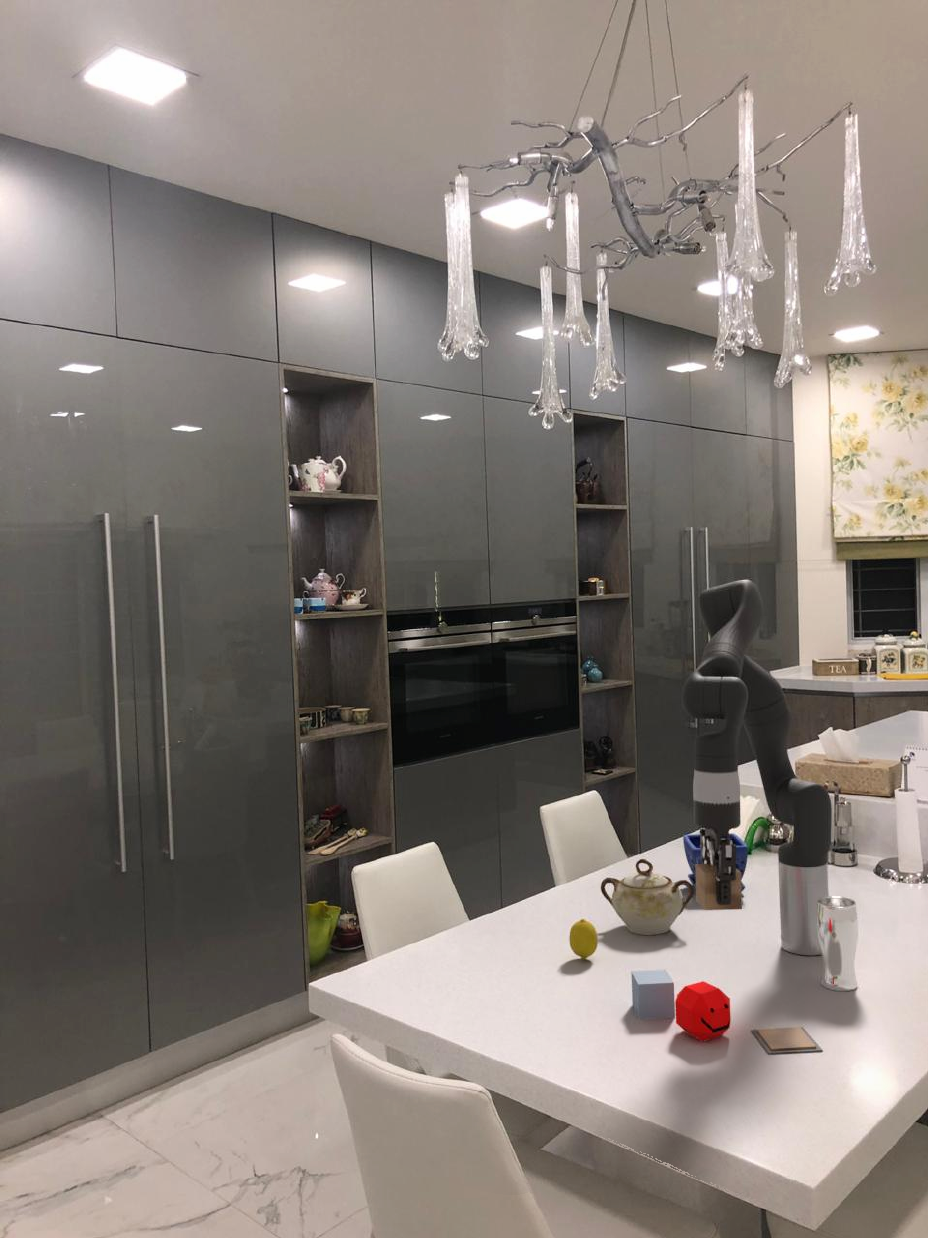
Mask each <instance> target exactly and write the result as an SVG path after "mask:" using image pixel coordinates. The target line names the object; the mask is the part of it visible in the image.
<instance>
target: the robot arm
mask: <svg viewBox="0 0 928 1238" xmlns="http://www.w3.org/2000/svg"><path fill="white" fill-rule="evenodd" d="M698 607H699V611H700V614H701V618H702V620H703V623H704V625H705V628H706V631H707V633H708V635H709V637H710V639H709V641H708V642H707V644H706V645H705V646H704V647H705V648H704V650H703V652H702V653H703V654H702V657H701V662H700V664H699V665H698V667H697V668H696V669H695V670H693V672H692V673H691V675H690V676H689V677H688V678H687V680H686V682H685V684H684V686H683V688H682V692H681V705H682V708H683V710H684V711H685V713H686V714H687V715H688V716H690V717H691V718H693V719H697V720H725V723H724V726H723V727H722V728H721V729H720V730H716V731H711V732H705V733H702V734H699V735H697V736H696V737H695V739H694V743H693V754H694V755H693V756H694V758H693V761H694V764H693V765H694V767H693V768H694V775H693V782H692V785H693V786H692V787H693V789H692V791H693V794H692V795H693V800H692V801H693V823H694V825H695V826H696V827H698V828H699V834H700V843H701V862H702V864H711V866H712V867H713V868H714V869H715V876H716V877H715V879H716V901H717V903H718V904H719V905H729V904H730V903H731V882H732V881H733V880H735V879H736V850H737V847H736V845H735V844H732V839H730V837H729V833H730V830H731V829H738V828H739V827H740V826H741V820H742V819H741V783H740V782H741V781H740V775H739V738H740V731H741V728H742V725H743V728H744V730H745V732H746V734H747V737H748V740H749V743H750V746H751V749H752V752H753V757H754V758H755V761H756V764H757V767H758V771H759V776H760V779H761V785H762V788H763V792H764V793H763V794H764V795H765V800H766V803H767V806H768V810H769V812H770V814H771V815H772V816H773V818H774V819H776V820H777V821H778V822H780V823H782V824H785V825H787V826H792V827H793V831H792V832H793V834H792V835H793V836H792V840H791V841H789V842H784V843H782V844H780V845H779V847H778V852H777V857H778V860H777V862H778V883H779V884H778V886H779V910H780V911H779V914H780V917H779V918H780V940H781V945H780V946H781V948H782V949H783V950H784V951H787V952H789V953H792V954H794V955H802V956H818V955H819V956H820V955H821V956H822V953H821V948H820V944H819V939H818V933H817V900H818V899H819V898H822V897H828V896H830V894H829V892H830V891H829V871H828V870H829V865H828V864H829V863H828V855H829V852H830V849H831V845H832V820H833V819H832V817H833V814H832V813H833V811H832V809H833V808H832V801H831V796H830V794H829V791H828V790H827V788H826V787H825V786H824V785H823V784H820V783H816V782H814V781H808V780H804V779H803V780H802V779H799V778H798V777H797V775H796V774H795V771H794V769H793V767H792V764H791V761H790V757H789V753H788V745H789V744H788V743H789V740H790V734H791V728H792V714H791V711H790V707H789V704H788V701H787V699H786V696H785V693H784V690H783V688H782V686H781V684H780V683H779V681H778V680H777V679H776V678H775V677H774V676H773V675H772V674H770V672H768V671H767V670H765V668H763V667H762V666H760V665H759V664H758V663H756V662H755V661H754V660H753V659H751V658H750V657H749V656H748V655H747V654H746V653H747V651H748V648H749V647H750V644H751V643H752V641H753V639H754V637H755V635H756V634H757V631H758V630H759V628H760V626H761V623H762V621H763V617H764V603H763V598H762V596H761V593H760V590H759V588H758V587H757V585H756V584H755V583H754V582H753V581H752V580H749V579H742V580H741V579H740V580H736V581H732V582H728V583H724V584H721V585H717V586H713V587H710V588H707V589H704V590H702V591H701V592H700V593H699V596H698ZM724 867H725V868H726V869H727V873H724Z"/></svg>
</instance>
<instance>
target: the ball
mask: <svg viewBox="0 0 928 1238" xmlns="http://www.w3.org/2000/svg"><path fill="white" fill-rule="evenodd" d="M674 1002H675V1023H676V1024H677V1025H678V1027H680V1028H681V1029H682V1030H683V1031H684V1032H685V1033H686V1034H689V1036H692V1037H694V1038H695V1039H697V1040H698V1041H701V1042H702V1043H703V1042H707V1041H710V1040H711V1039H717V1038H719V1037H722V1036H723V1035H724V1034H725V1033H726V1032H727V1031H729V1029H730V1027H731V1022H732V1021H731V999H730V998H729V996H727V995H726V994H725V992H723V990H721V989H720V988H719V987H716V986H715V985H712V984H710V983H708V982H706V981H703V980H702V981H699V982H695V983H692V984H687V985H685V986H683V988H682V989H681V990H680V991H679V992H678V993H677V994H676V998H675V1000H674Z"/></svg>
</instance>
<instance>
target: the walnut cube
mask: <svg viewBox="0 0 928 1238" xmlns="http://www.w3.org/2000/svg"><path fill="white" fill-rule="evenodd" d="M695 869H696V889H695V900H696V901H697V902H698V904H700V906H701V907H702V908H703V909H704V910H705V911H717V910H718V911H719V910H720V911H723V910H742V909H743V905H742V904H743V903H742V902H743V899H742V898H743V897H742V892H743V891H742V889H741V882H742V880H741V872H740V871H739V870H738V869H737V868H736V879H735V880H733V881H732V882H731V903H730V904H729V905H719V904H718V903H717V901H716V879H715V877H716V876H715V869H714V868H713V867H712V866H711V864H695ZM724 873H727V869H726V868H725V867H724Z"/></svg>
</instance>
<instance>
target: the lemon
mask: <svg viewBox="0 0 928 1238" xmlns="http://www.w3.org/2000/svg"><path fill="white" fill-rule="evenodd" d="M568 938H569V939H568V940H569V946H570V949H571V951H572V952H573V953H574V954H575V955H576V956H577V957H580V958H581V959H582V960H587V959H588V957H591V956H593V954H595V952H596V950H597V948H598V944H599V936H598V932H597V930H596V928H595V926H594V925H593V923H591V922H590V921H588V920H586V918H585V919H584V918H581V919H580V920H579V921H576V922H575V923H574V924H573V925H572V926H571V928H570V931H569V937H568Z"/></svg>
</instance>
